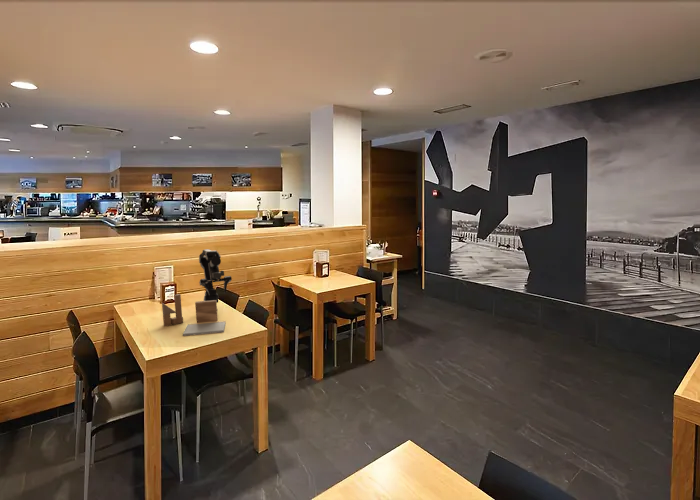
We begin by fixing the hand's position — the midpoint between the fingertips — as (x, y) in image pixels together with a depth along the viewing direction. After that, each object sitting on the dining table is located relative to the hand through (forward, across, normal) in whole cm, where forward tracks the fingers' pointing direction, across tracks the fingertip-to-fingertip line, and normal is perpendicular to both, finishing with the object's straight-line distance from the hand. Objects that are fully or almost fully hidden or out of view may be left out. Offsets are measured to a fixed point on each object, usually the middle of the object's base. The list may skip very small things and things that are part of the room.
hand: (217, 293), depth 248 cm
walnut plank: (+16, -7, +7) cm, 19 cm away
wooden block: (+12, -25, +16) cm, 33 cm away
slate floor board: (+20, -10, -3) cm, 23 cm away
